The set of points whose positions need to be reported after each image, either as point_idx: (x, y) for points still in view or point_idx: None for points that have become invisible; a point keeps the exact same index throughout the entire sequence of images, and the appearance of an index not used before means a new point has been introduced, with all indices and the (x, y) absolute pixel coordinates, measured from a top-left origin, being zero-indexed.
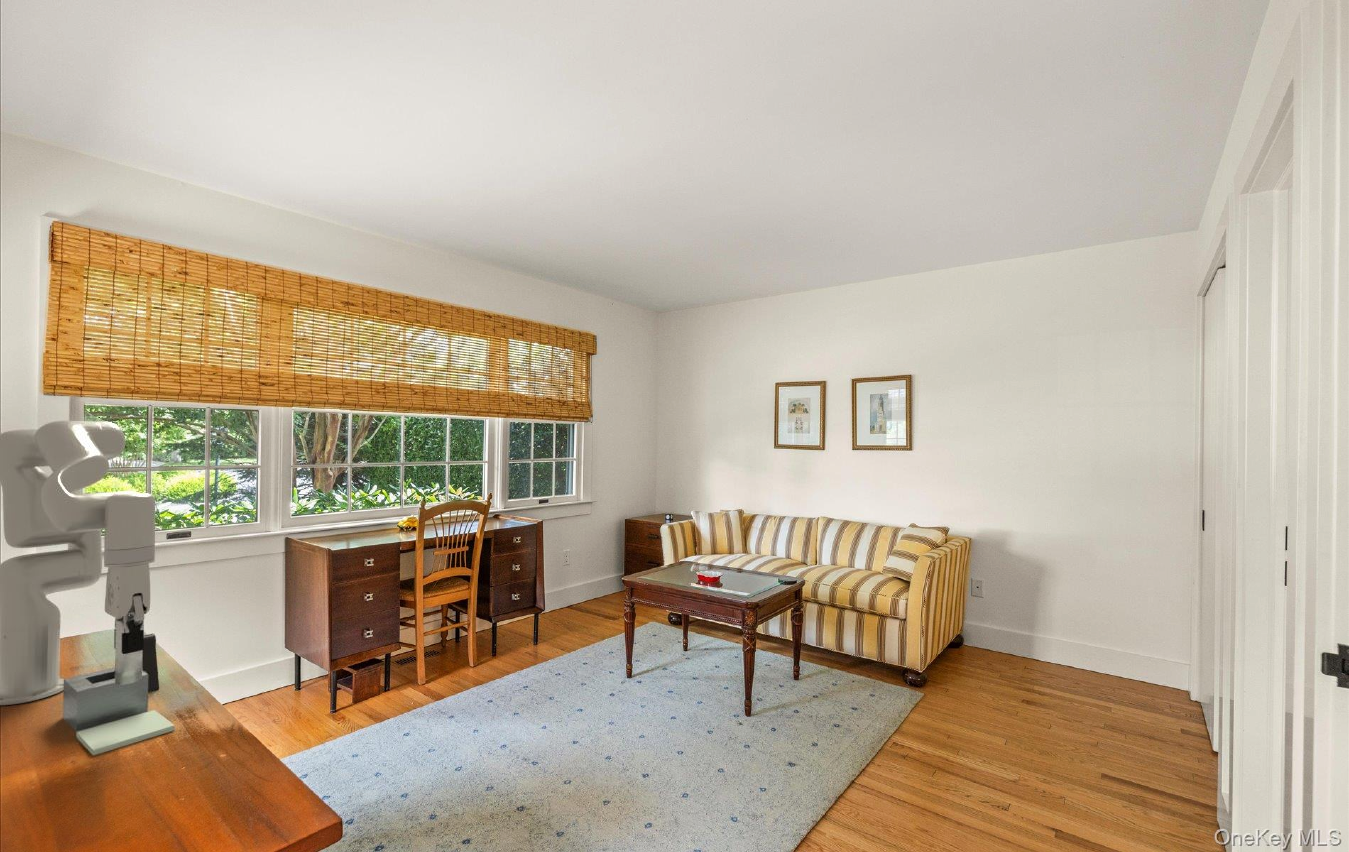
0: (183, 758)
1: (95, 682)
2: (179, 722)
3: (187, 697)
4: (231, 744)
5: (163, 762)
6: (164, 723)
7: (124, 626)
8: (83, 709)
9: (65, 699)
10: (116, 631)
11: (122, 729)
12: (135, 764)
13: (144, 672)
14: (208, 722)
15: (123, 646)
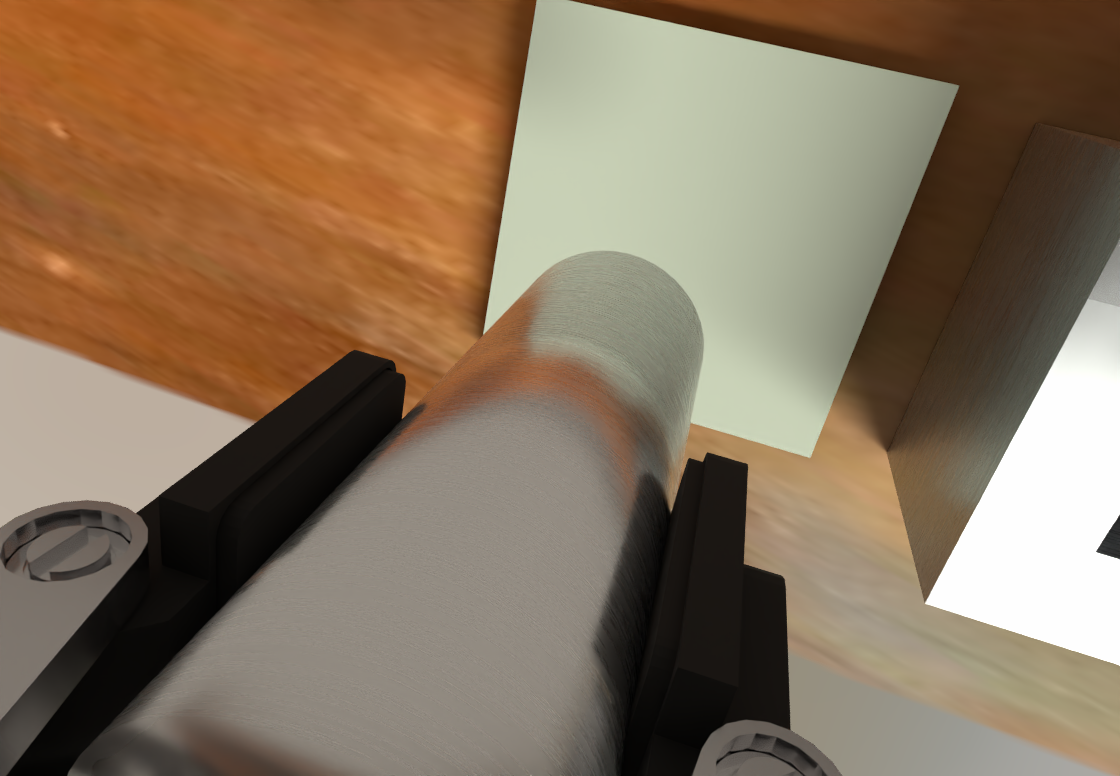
0: (145, 181)
1: None
2: None
3: (875, 638)
4: (130, 339)
5: (170, 120)
6: None
7: (16, 607)
8: (1070, 181)
9: None
10: (395, 551)
11: (692, 228)
12: (249, 48)
13: (1009, 625)
14: None
15: (301, 396)
